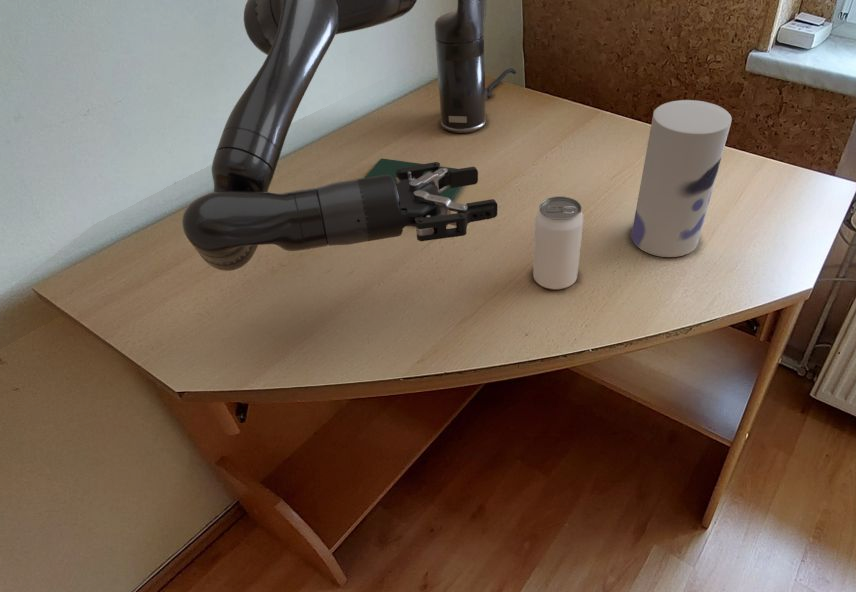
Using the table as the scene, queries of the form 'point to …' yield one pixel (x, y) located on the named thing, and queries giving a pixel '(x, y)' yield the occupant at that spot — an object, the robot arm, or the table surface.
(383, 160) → the mat
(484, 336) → the table surface
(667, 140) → the container
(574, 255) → the can
